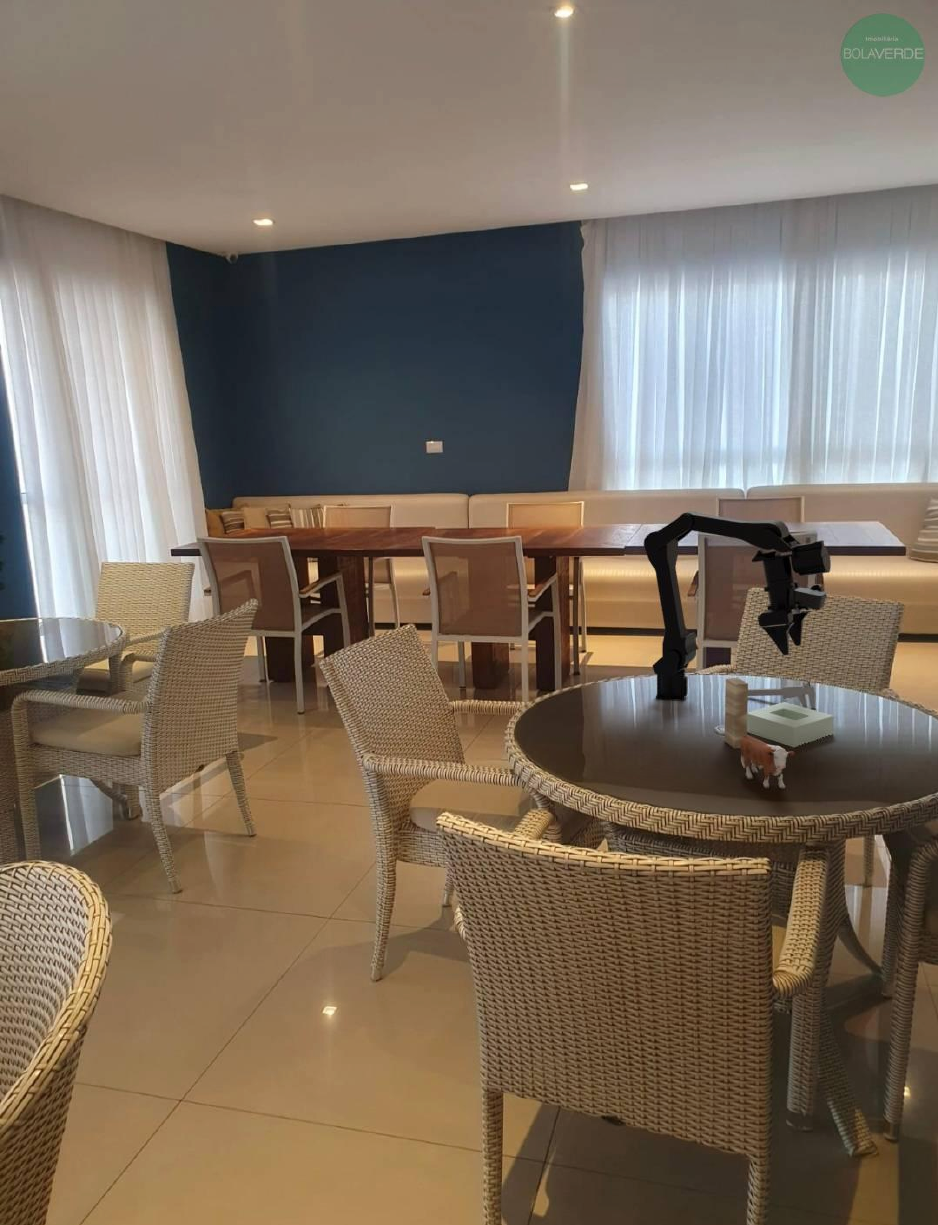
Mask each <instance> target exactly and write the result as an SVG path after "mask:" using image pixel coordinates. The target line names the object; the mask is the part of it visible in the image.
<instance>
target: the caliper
mask: <svg viewBox="0 0 938 1225" xmlns="http://www.w3.org/2000/svg"><path fill="white" fill-rule="evenodd" d="M801 683H802V685H785V686H784V685H783V686H781V688H780V687H779V688H748V697H762V696H764V697H765V696H768V697H769V696H773V697H774V696H782V698H783V699H785V700H786V699H793V698H795V697H797V699H798V700H799V702H800V704H801V707H804V708H807V707H808V705H807V699H806V696H808V700H809V704H810V709H814V708H815V707H816V691H815V687H814V685H811V682H810V680H808V681H807V682H806V681H805V680H803V681H801ZM806 706H807V707H806Z"/></svg>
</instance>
